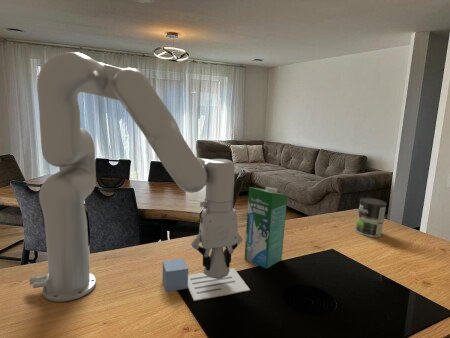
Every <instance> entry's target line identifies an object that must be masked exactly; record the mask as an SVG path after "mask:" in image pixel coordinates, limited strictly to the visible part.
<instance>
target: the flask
mask: <svg viewBox="0 0 450 338" xmlns="http://www.w3.org/2000/svg"><path fill="white" fill-rule="evenodd" d="M209 257H210V270H208V271H207V270H206V268H205V267H204V270H203V272H202V273H204V274H205V275H207V276H208V277H210V278H216V279H221V278H223V277H226V276H228V273H229V271H230V270H229V269H230V266H229V267H227V264H226V259H225V256H224V247H220V248H212V249H211V252H210V254H209Z"/></svg>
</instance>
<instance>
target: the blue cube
mask: <svg viewBox="0 0 450 338" xmlns="http://www.w3.org/2000/svg"><path fill="white" fill-rule="evenodd" d="M188 275H189V267H188V264H187V263H186V261H185V259H184V258H175V259H167V260H162V284H163V286H164V290H165V292H166V293H168V292H169V293H170V292H173V291H179V290H180V291H181V290H185V289H188Z"/></svg>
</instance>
